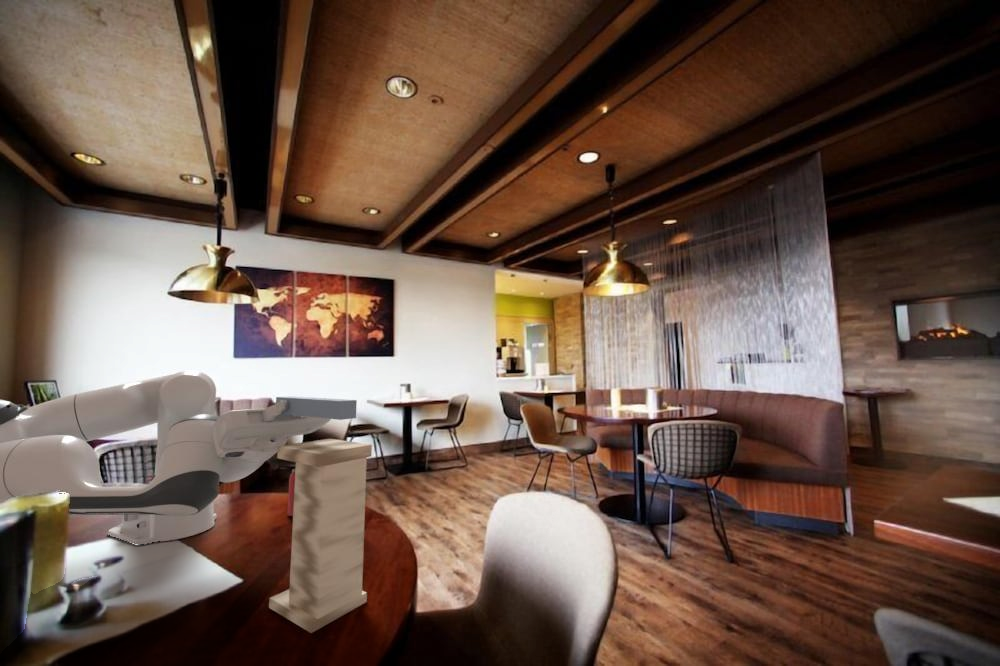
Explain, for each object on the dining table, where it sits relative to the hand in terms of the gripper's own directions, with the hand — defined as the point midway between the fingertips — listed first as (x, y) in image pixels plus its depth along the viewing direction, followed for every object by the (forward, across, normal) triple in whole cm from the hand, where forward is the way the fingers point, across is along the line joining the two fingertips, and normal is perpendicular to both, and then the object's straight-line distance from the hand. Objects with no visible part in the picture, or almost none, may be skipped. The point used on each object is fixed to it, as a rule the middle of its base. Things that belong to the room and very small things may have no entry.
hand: (297, 403), depth 76 cm
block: (+4, 0, -4) cm, 6 cm away
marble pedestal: (-8, 0, -33) cm, 34 cm away
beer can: (-47, -23, -11) cm, 54 cm away
